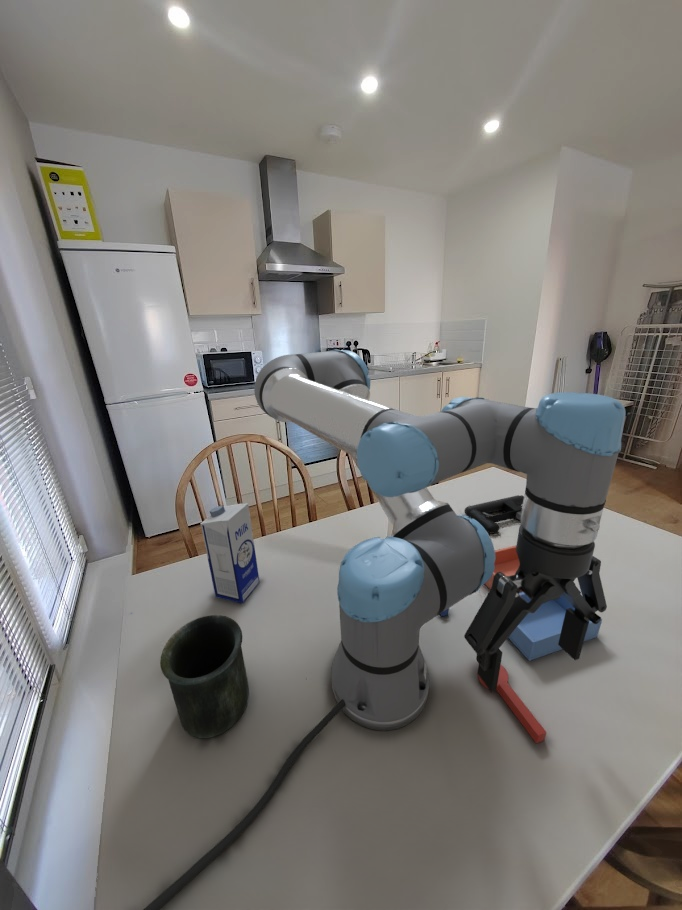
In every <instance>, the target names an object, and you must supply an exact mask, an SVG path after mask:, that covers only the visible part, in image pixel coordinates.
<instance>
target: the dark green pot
mask: <svg viewBox="0 0 682 910" xmlns="http://www.w3.org/2000/svg"><path fill="white" fill-rule="evenodd" d="M242 645H243V631H242V629H241V626H240V625H239V623H238V622H237V621H236V620H235V619H233V618H231V617H229V616H226V615H223V614H209V615H205V616H201V617H197V618H195V619H193V620H191V621H188V622H187V623H186V624H184V625H183V626H181V627H180V628H179V629H177V630H176V631H175V632H174V633H173V634H172V635H171V637H169V639H168V640H167V642H166V643H165V645H164V647H163V649H162V651H161V655H160V660H159V661H160V662H159V664H160V670H161V672H162V674H163V676H164V677H165V678H166V679H167V680H168V684H169V687H170V691H171V694H172V697H173V701H174V704H175V708H176V711H177V714H178V718H179V721H180V724H181V726H182V728H183V729H184V732H186V733H187V734H189V735H190V736H192V737H194V738H198V739H199V738H200V739H210V738H214V737H217V736H219V735H221V734H224V733H225V732H226V731H228V730H229V729H230V728H232V727H233V726H234V725H235V724H236V723H237V721H238V720H239V719H240V718H241V716H242V715H243V713H244V712H245V710H246V708H247V705H248V702H249V699H250V687H249V681H248V676H247V669H246V666H245V665H246V664H245V660H244V654H243V648H242Z"/></svg>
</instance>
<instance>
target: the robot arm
mask: <svg viewBox="0 0 682 910" xmlns="http://www.w3.org/2000/svg"><path fill="white" fill-rule="evenodd" d="M369 373H370V372H369V369H368V366H367V364H366V362H365V361H364V360H363V358H361V356H359V355H358V354H357V353H356V352H354V351H352V350H347V349H341V350H340V349H330V350H327V351H316V352H306V353H305V352H304V353H293V354H292V353H291V354H284V355H280V356H277V357H275V358H272V359H271V360H270V361H268V362H267V363H266V364H265V365H264V366H262V368H261V369H260V371H259V372H258V373H257V376H256V378H255V382H254V388H253V389H254V390H253V392H254V397H255V400H256V403H257V404H258V406H259V408H260V409H261V410H262V412H264V413H265V414H267V416H268V417H271V418H272V419H274V420H275V421H277V422H281V423H293V424H294V425H296V426H298V427H299V428H302V429H303V430H305V431H307V432H308V433H310V434H312V435H314V436H316V437H318V438H319V439H321V440H323V441H325V442H326V443H328V444H330V445H331V446H334V447H335V448H336V449H339V450H341V451H342V452H344V453H346V454H348V455H349V456H350V457H351V459H352V460H353V462H354V464H355V465H356V467H357V469H358V470H359V473H360V475H361V477H362V479H363V480H364V481H365V482H366V484H367V485H368V487H369V489H370V490H371V492H372V494H373V495H374V497H375V499H376V500H377V502H378V504H379V505H380V507H381V509H382V510H383V512H384V513H385V515H386V517H387V518H388V520H389V522H390V523H391V525H392V529H391V533H390V534H391V535H390V536H389V535H388V536H385V538H381V536H374V537H370V538H368V539H364V540H363V541H360V542H358V543H357V544H355V545H354V546H352V548H350V549H349V550H348V551H347V552H346V554H345V555H344V556H343V558H342V560H341V563H340V565H339V569H338V583H337V587H336V588H337V589H336V590H337V591H336V593H337V600H338V606H339V607H338V608H339V623H340V626H339V627H340V642H339V644H338V648H337V650H336V654H335V656H334V658H333V660H332V665H331V671H330V675H331V677H330V678H331V688H332V694H333V696H334V699H335V701H336V705H335V706H334V707H333V708H332V709H331V710H330V711H328V713H327V714H326V715H325V716H324V717H323V718H322V719H321V720H320V721H319V722H318V724H316V725H315V727H313V728H312V729H311V730H310V731H309V732H308V734H306V736H305V737H304V738H303V739H302V740H301V741H300V742H299V743H298V744H297V746H296V747H295V749H294V750H293V751H291V753H290V755H289V756H288V757H287V759H286V761H285V762H284V763H283V765H282V766H281V767H280V769H279V771H278V773H277V774H276V776H275V778H273V780H272V782H271V783H270V785H269V786H268V788H267V790H266V791H265V792H264V794H263V795H262V796H261V797H260V799H259V800H258V802H257V803H256V804H255V805H254V806H253V807H252V808H251V810H250V811H249V812H248V813H247V814H246V815H245V817H243V819H242V820H241V821H240V822H239V823H238V824H237V825H236V826H235V827H234V828H233V829H232V830H231V831H230V832H229V833H227V834H226V835H225V836H224V837H223V838H222V839H221V840H220V841H219V842H218V843H216V844H215V845H214V846H213V847H212V848H211V849H210V850H208V851H207V852H206V853H205V854H204V855H203V856H202V857H201V858H200V859H199V860H198V861H196V862H195V863H194V864H193V865H192V866H191V867H190V868H188V869H187V870H186V871H185V872H184V873H183V874H182V875H181V876H180V877H178V879H176V880H175V881H174V882H173V883H172V884H170V885H169V886H168V887H167V888H166V889H165V890H164V891H163V892H162V893H160V894H159V895H158V896H157V897H156V898H155V899H154V900H152V901H151V902H150V903H149V904H148V905H146V906H145V907H144V908H143V909H142V910H161V909H162V908H163V907H164V906H165V905H166V904H167V903H168V902H169V901H170V900H172V898H174V897H175V896H176V895H177V894H179V892H180V891H181V890H182V889H184V888H185V887H186V886H187V885H188V884H189V883H190V882H192V881H193V880H194V879H195V878H196V876H198V875H199V874H200V873H201V872H202V871H203V870H204V869H206V867H208V866H209V865H210V864H211V863H212V862H213V861H214V860H215V859H216V858H218V857H220V855H221V854H222V853H223V852H224V851H225V850H227V849H228V848H229V846H231V845H232V844H233V843H234V841H236V840H237V839H238V838H239V837H240V836H241V835H242V833H244V831H246V829H247V828H248V827H249V826H250V825H251V824H252V823H253V822H254V820H255V819H256V818H257V817H258V816H259V815H260V813H261V812H262V811H263V810H264V808H265V807H266V806H267V804H268V803H269V802H270V800H271V799H272V797H274V795H275V793H276V791H277V790H278V788H279V787H280V785H281V784H282V782H283V780H284V779H285V777H286V775H288V772H289V770H290V769H291V768H292V766H293V765H294V764H295V762H296V760H297V759H298V758H299V756H300V755H301V754H302V753H303V751H304V750H305V749H306V747H308V745H309V744H310V743H311V742H312V741H314V739H315V738H317V736H318V735H319V734H320V733H321V732H322V731H323V729H325V728H326V726H327V725H328V724H330V723H331V721H332V720H333V719H334V718H335V717H336V716H337V715H338V714H339V712H341V711H342V712H343V713H344V714H345V715H346V716H347V717H348V718H349V719H350V720H352V721H353V722H355V723H356V724H358V725H360V726H361V727H364V728H367V729H371V730H374V731H393V730H397V729H400V728H403V727H405V726H407V725H409V724H411V723H412V722H413V721H414V720H415V719H416V718H418V717H419V715H420V714H421V713H422V711H423V710H424V708H425V706H426V704H427V700H428V697H429V692H430V674H429V669H428V664H427V661H426V659H425V658H424V655H423V652H422V650H421V647H420V634H421V633H420V632H421V629H422V627H423V626H424V625H425V624H427V623H428V622H430V621H431V620H433V619H435V618H436V617H437V616H439V615H441V614H440V613H442V612H444V611H445V610H447V609H448V608H449V609H450V608H451V607H453V606H454V605H456V604H458V602H461V601H462V600H464V599H465V598H467V597H468V596H471V595H473V594H475V593H477V592H478V591H479V590H480V589H481V587H483V586H484V585H485V583H486V582H487V581H488V580H489V579H490V578H491V576H492V574H493V572H494V569H495V565H494V563H495V559H496V557H495V550H496V549H495V547H494V543H493V541H492V538H491V536H490V535H489V532H487V531H486V530H485V529H484V527H483V526H482V525H481V524H480V523H479V522H478V521H476V520H475V519H472V518H471V517H468V516H467V515H465V514H463V515H461V514H457V513H456V512H455V511H454V508H452V507H451V505H450V504H449V503H448V502H445V501H440V500H437V499H435V498H434V496H433V494H432V493H431V492H430V491H429V489H428V487H429V486H430V487H431V486H432V485H435V484H437V483H440V482H442V481H445V480H448V479H450V478H452V477H454V476H457V475H460V474H463V473H466V472H467V471H471V470H473V469H477V468H478V467H481V466H484V465H486V464H492V465H495V466H499V467H502V468H504V469H507V470H511V471H514V472H518V473H523V474H525V475H526V479H525V480H526V482H525V488H524V489H525V490H524V495H523V496H524V500H523V504H522V505H521V507H522V512H521V520H519V522H520V525H519V528H518V533H517V540H516V545H515V546H516V552H517V555H518V558H519V562H520V565H519V568H518V569H517V571H516V573H515V575H511V576H505V575H504V574H503V573H502V572H497V573H496V574H495V576H494V579H493V583H492V587H491V590H490V589H489V591H488V593H487V595H486V597H485V598H484V600H483V602H482V604H481V606H480V607H479V609H478V610H477V612H476V614H475V615H474V617H473V620H472V621H471V623H470V625H469V626H468V628H467V630H466V632H465V633H464V636H463V638H464V639H465V641H466V642H467V643H468V645H469V646H470V647H471V649H473V651H474V652H475V653H476V657H475V660H476V662H477V663H478V667H477V676H478V675H479V676H480V678H481V679H482V680H483V682H484V683H485V684H486V686H487V687H488V688H489V689H488V688H487V689H488V690H489V692H490V693H493V692H497V691H496V690H497V683H498V677H499V671H500V665H502V659H503V650H501V649H500V648H501V647H502V645H503V644H504V643H505V642H506V641H507V639H509V638H508V637H509V636H510V635H511V633H512V632H513V631H514V630H515V629H516V627H517V626H518V625H519V624H520V622H521V621H522V620H523V619H524V618H525V616H526V615H527V614H528V613H534V612H536V610H537V609H538V608H539V607H540V606H541V604H543V603H546V602H548V601H549V600H556V599H559V598H560V596H561V595H563V596H564V597H565V598H566V599H567V601H568V602H569V603H570V604H571V605H572V607H574V608H575V611H574V610H573V609H572V608H568V609H566V613H565V617H564V621H563V626H562V630H561V634H560V638H559V643H558V645H559V646H560V647H561V648H562V650H563V651H564V652H565V653H566V654H568V656H569V657H570V658H572V659H573V660H574V661H578V660H579V659H580V656H581V654H582V649H583V646H584V642H585V641H584V638H585V635H586V632H587V629H588V625H589V621H591V622H592V623H594V624H598V623H599V622H600V620H601V619H602V617H601V616H600V615H599V614H597V613H596V612H599V613H604V612H606V610H607V607H608V605H607V602H606V597H605V592H604V588H603V584H602V583H603V582H602V580H601V574H600V573H601V572H600V571H601V565H602V560H601V559H599V558H597V557H596V556H594V552H595V549H596V543H595V541H596V539H597V537H598V533H599V530H600V527H601V526H600V525H601V520H602V516H603V512H604V509H605V508H604V507H605V505H606V502H607V497H608V493H609V489H610V486H611V482H612V479H613V475H614V472H615V468H616V464H617V460H618V457H619V453H620V452H621V451H622V438H623V431H624V426H625V420H626V408H625V406H624V405H623V403H622V402H621V401H619V400H618V399H616V398H614V397H611V396H609V395H608V396H607V395H603V394H598V393H589V392H582V393H581V392H573V391H572V392H571V391H568V392H567V391H566V392H565V391H564V392H563V391H562V392H553V393H548V394H545V395H544V396H542V397H541V398H540V400H539V402H538V404H537V405H538V406H537V407H529V406H524V405H518V404H512V403H507V402H501V401H495V400H491V399H489V398H488V399H487V398H484V397H479V396H477V397H468V396H458V397H455V398H452V399H451V400H450V401H449V403H448V404H446V405H444V406H443V407H442V409H441V411H437V412H434V413H430V414H425V415H414V414H410V413H407V412H405V411H402V410H398V409H396V408H392V407H390V406H387V405H384V404H382V403H378V402H376V401H372V400H370V398H371V391H370V389H371V377H370V376H368V374H369ZM576 579H577V581H578V586H579V588H578V586H576V583H575V582H574V581H575V580H576ZM520 590H522V591H523V592H524V594H525V595H526V596H528V597H529V598H530V599H531V601H530V602H529V603H528V602H527V601H526V600H525V599H523V598H522V597H521V596H520V595H519V592H520Z"/></svg>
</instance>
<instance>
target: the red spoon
mask: <svg viewBox="0 0 682 910" xmlns="http://www.w3.org/2000/svg"><path fill="white" fill-rule="evenodd" d="M477 678H478V681H479V682H480V684H482V686H483V687H485V688H486V689H488V690H489V688H488V687H487V686H486V684H485V683H484V682H483V680H482V679H481V678H480V676H479V675H478V674H477ZM495 692H497V693H498V694H499V696H500V697H501V698H502V699H503V701H504V702H505V704H506V705H507V706H508V708H509V709H510V710H511V711H512V713H513V714H514V716H515V717H516V718H517V719H518V721H519V722H520V724H521V726H522V727H523V728H524V729H525V731H526V732H527V733H528V734H529V736H530V737H531V738H532V740H533V741H534V743H535V744H539V743H541V742H543V741H545V739H546V736H547V731H546V730H545V729H544V727H543V726H542V724H541V723H540V722H539V721H538V719H537V718H536V717H535V715H534V714H533V713H532V711H530V709H529V708H528V706H526V704H525V703H524V701H522V699H521V698H520V697H519V695H518V694H517V693H516V692H515V690H514V689H513V688H512V687H511V685H510V684H509V674H508V672H507V669H505V667H504V666H503V665H502V664H501V665H500V671H499V677H498V683H497V690H496V691H495Z"/></svg>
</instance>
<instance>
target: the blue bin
mask: <svg viewBox="0 0 682 910" xmlns="http://www.w3.org/2000/svg"><path fill="white" fill-rule="evenodd" d="M519 595H520V596H521V597H522V598H523V599H525V600H526V601H527V602H528V603H529V602H530V601H531V599H530V598H529V597H528V596H526V595H525V594H524V592H521V593H519ZM568 608H572V609H573V610H574V611H575V608H574V607H572V605H571V604H570V603H569V602H568V601H567V599H566V598H565V597H564V596H563V595H561V596H560V598H559V599H556V600H549V601H548V602H546V603H543V604H541V606H540V607H539V608H538V609H537V610H536V612H534V613H528V614H527V615H526V616H525V618H524V619H523V620H522V621H521V622H520V624H519V625H518V626H517V627H516V629H515V630H514V631H513V632H512V633H511V635H510V636H509V637H508V638H507V639H509V640H510V641H511V643H512V644H513V645H514V646H515V647H516V649H517V650H519V652H520V653H521V654H522V655H523V656H524V657H525V659H527V661H529V662H530V661H534V660H535V659H539V658H542V657H544V656H547V655H550V654H552V653H556V652H558V651H561V650H563V649H562V648H561V647H560V646H559V645H558V643H559V638H560V634H561V630H562V626H563V621H564V617H565V613H566V609H568ZM602 621H603V618H601V620H600V622H599V623H598V624H594V623H592V622H591V621H589V625H588V629H587V632H586V635H585V638H584V642H587V641H590V640H593V639H595V638H598V637H599V633H600V628H601V625H602Z"/></svg>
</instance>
